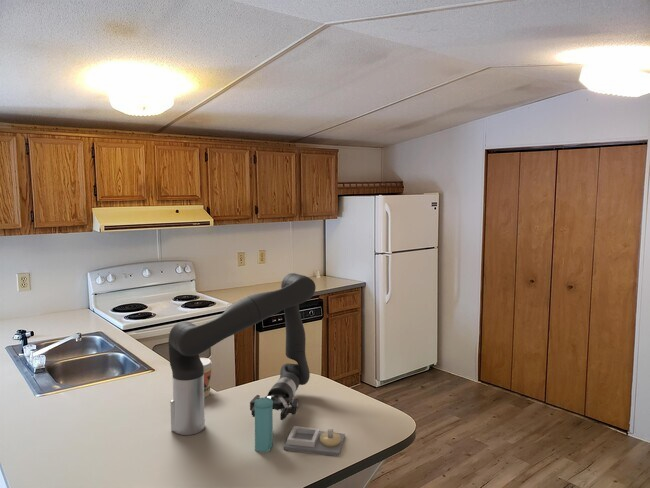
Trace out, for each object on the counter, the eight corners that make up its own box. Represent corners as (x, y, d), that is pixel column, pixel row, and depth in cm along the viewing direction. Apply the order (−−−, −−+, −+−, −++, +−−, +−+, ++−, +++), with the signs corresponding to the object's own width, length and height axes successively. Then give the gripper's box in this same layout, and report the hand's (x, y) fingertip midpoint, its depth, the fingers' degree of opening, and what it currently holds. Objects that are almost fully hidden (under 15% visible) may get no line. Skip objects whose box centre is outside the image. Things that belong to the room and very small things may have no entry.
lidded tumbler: (252, 451, 142) (251, 404, 140) (258, 442, 147) (257, 396, 145) (269, 453, 141) (269, 406, 139) (275, 444, 146) (275, 398, 144)
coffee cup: (193, 402, 173) (192, 368, 171) (181, 393, 180) (180, 361, 178) (217, 394, 179) (216, 362, 177) (204, 386, 186) (204, 355, 184)
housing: (283, 449, 142) (284, 435, 142) (293, 431, 153) (293, 417, 153) (339, 456, 140) (339, 441, 139) (345, 436, 150) (345, 422, 150)
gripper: (261, 379, 163) (244, 401, 147) (303, 383, 160) (291, 405, 144) (261, 401, 164) (244, 425, 148) (303, 405, 161) (291, 430, 145)
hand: (267, 415), depth 146 cm, fingers open, 8 cm apart
